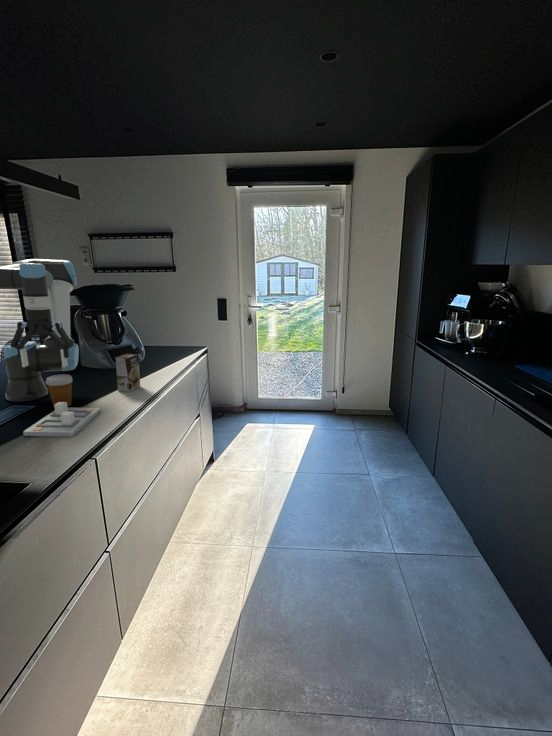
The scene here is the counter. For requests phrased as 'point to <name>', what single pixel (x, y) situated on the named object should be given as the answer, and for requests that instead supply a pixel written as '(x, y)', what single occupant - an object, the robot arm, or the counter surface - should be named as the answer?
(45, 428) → the switch plate
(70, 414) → the tab
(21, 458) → the counter surface
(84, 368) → the counter surface
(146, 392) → the counter surface
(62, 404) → the tab
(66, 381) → the disposable coffee cup
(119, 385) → the coffee box
